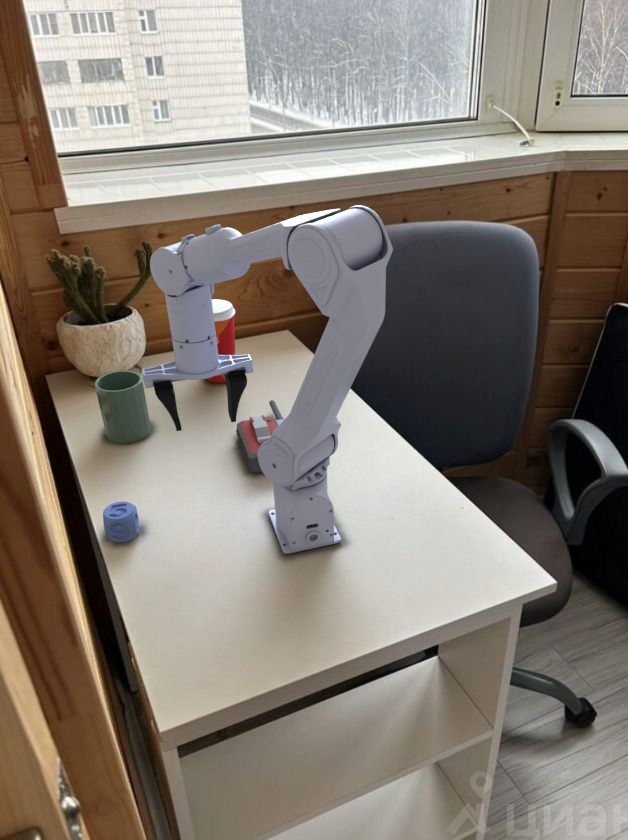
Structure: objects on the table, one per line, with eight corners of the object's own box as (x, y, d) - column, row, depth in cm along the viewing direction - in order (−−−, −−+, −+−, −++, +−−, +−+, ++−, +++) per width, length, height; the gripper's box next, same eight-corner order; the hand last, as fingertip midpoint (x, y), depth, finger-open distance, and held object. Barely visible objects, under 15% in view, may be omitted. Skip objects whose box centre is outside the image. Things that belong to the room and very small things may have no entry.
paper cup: (192, 375, 137) (182, 305, 129) (226, 363, 142) (219, 294, 134) (215, 390, 132) (206, 318, 125) (250, 377, 137) (243, 306, 129)
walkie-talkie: (307, 468, 112) (278, 407, 127) (306, 444, 109) (276, 385, 125) (251, 479, 109) (228, 415, 125) (248, 454, 107) (225, 392, 122)
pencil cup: (153, 438, 119) (143, 387, 113) (107, 446, 117) (95, 394, 111) (149, 417, 124) (139, 367, 119) (105, 424, 122) (93, 374, 117)
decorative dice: (139, 522, 101) (134, 499, 98) (138, 540, 97) (133, 517, 95) (109, 526, 100) (104, 503, 98) (108, 544, 97) (102, 521, 94)
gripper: (242, 316, 100) (250, 401, 108) (134, 329, 96) (150, 417, 104) (252, 336, 95) (260, 425, 102) (138, 351, 91) (155, 442, 98)
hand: (205, 423), depth 103 cm, fingers open, 7 cm apart
